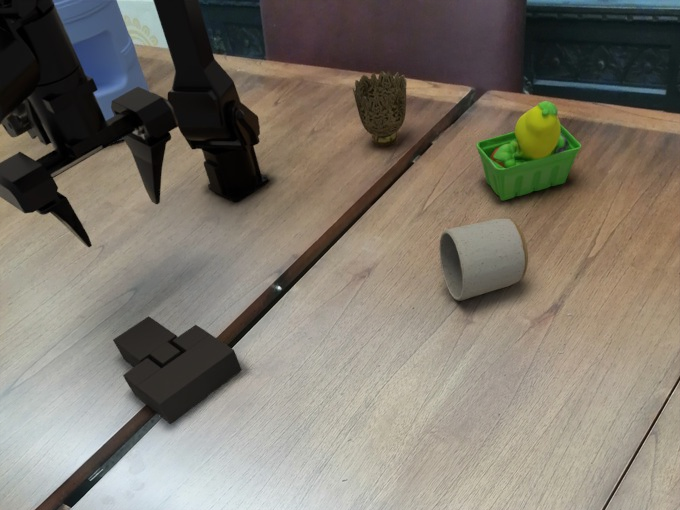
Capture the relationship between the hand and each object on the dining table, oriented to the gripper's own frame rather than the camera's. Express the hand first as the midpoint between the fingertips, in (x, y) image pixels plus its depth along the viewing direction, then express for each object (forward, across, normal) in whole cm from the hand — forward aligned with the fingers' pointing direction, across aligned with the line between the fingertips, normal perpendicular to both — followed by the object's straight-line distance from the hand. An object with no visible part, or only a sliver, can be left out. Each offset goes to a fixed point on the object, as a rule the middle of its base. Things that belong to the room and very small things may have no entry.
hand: (122, 223), depth 76 cm
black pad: (+11, +6, +9) cm, 15 cm away
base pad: (+11, +6, +14) cm, 19 cm away
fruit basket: (+12, -44, +22) cm, 51 cm away
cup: (+12, -43, -2) cm, 44 cm away
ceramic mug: (+11, -26, +29) cm, 40 cm away
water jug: (+12, -23, -46) cm, 53 cm away
